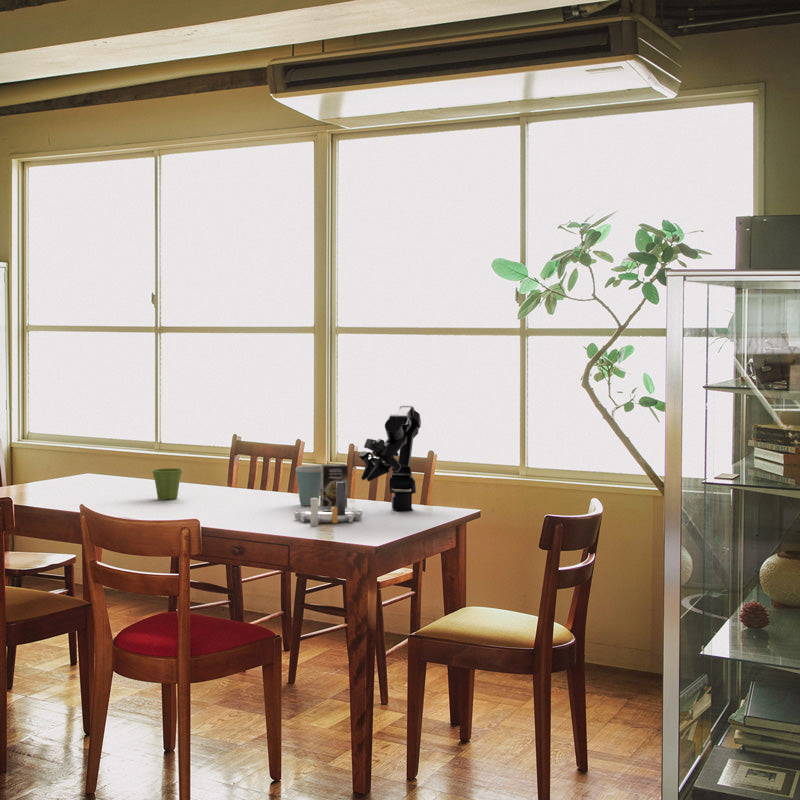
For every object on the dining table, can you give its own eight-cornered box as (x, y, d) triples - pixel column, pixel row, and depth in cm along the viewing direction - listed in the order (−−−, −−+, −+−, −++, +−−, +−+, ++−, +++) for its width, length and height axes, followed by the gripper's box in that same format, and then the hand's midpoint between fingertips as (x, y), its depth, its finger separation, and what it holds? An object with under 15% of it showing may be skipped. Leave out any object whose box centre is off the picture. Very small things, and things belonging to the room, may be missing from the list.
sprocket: (354, 510, 347) (354, 474, 347) (369, 521, 325) (369, 483, 324) (289, 512, 342) (290, 475, 341) (300, 524, 319) (300, 485, 318)
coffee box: (322, 510, 349) (323, 466, 348) (319, 508, 355) (320, 464, 355) (347, 510, 351) (348, 465, 351) (344, 507, 358) (344, 463, 357)
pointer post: (317, 524, 321) (317, 497, 321) (318, 526, 319) (318, 498, 318) (310, 525, 321) (310, 498, 320) (311, 526, 318) (311, 499, 318)
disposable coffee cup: (289, 505, 360) (289, 465, 359) (305, 501, 370) (305, 462, 369) (313, 508, 355) (313, 467, 354) (329, 504, 365) (329, 464, 364)
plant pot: (187, 496, 380) (187, 468, 379) (177, 501, 368) (177, 471, 368) (157, 496, 381) (157, 467, 381) (147, 500, 369) (146, 471, 369)
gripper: (363, 428, 341) (336, 461, 336) (393, 432, 326) (365, 467, 320) (382, 449, 346) (355, 482, 340) (412, 454, 331) (385, 489, 325)
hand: (364, 479), depth 331 cm, fingers open, 3 cm apart
